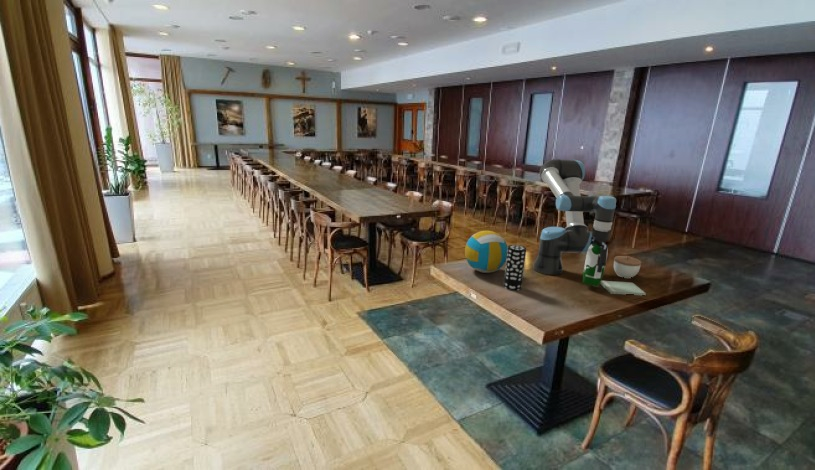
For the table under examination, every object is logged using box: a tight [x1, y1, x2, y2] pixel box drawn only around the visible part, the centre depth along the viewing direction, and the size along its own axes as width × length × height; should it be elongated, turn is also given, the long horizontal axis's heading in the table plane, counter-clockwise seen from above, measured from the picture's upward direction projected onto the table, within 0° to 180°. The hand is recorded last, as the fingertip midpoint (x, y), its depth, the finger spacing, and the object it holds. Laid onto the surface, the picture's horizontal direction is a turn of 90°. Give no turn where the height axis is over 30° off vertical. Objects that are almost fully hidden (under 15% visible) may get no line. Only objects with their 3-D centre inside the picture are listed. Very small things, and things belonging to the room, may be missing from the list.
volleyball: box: [464, 230, 508, 274], centre depth 207 cm, size 22×22×22 cm
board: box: [599, 280, 647, 296], centre depth 195 cm, size 16×13×1 cm
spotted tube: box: [503, 244, 527, 292], centre depth 189 cm, size 8×8×20 cm
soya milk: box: [582, 244, 609, 287], centre depth 191 cm, size 9×9×20 cm
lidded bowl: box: [613, 255, 642, 279], centre depth 211 cm, size 13×13×11 cm
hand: (593, 274), depth 193 cm, fingers closed on soya milk, 9 cm apart
